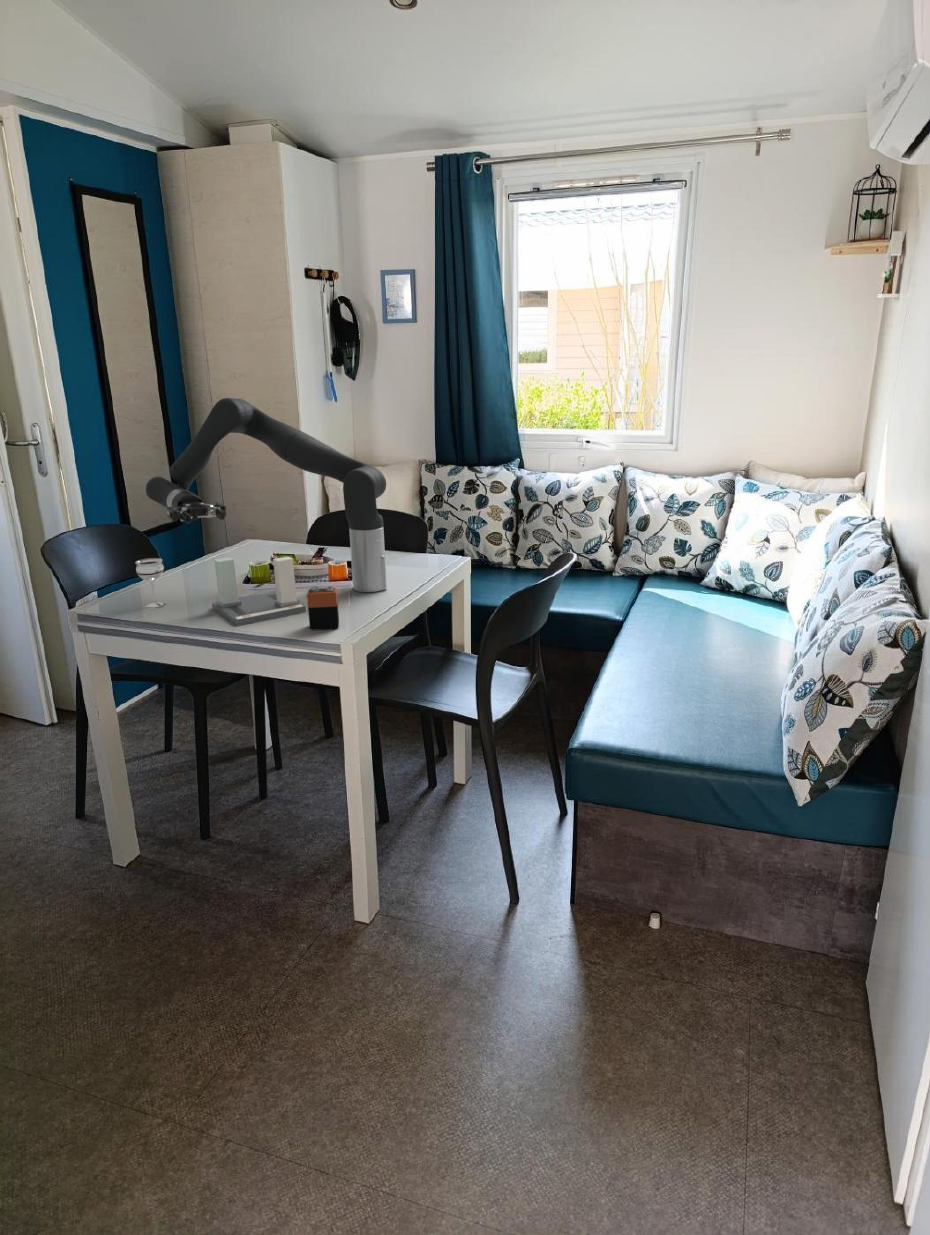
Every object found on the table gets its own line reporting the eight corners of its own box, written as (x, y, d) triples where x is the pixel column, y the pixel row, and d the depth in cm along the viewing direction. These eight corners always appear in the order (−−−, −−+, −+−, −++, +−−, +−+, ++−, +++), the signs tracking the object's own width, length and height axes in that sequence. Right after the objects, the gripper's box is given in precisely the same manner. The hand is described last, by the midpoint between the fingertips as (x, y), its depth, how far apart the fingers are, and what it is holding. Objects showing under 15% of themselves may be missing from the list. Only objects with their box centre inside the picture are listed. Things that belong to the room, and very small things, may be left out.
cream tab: (274, 603, 210) (270, 558, 206) (293, 600, 212) (289, 555, 209) (281, 607, 206) (276, 562, 203) (299, 603, 209) (295, 558, 205)
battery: (310, 624, 198) (307, 585, 195) (339, 623, 199) (336, 583, 196) (309, 630, 194) (306, 590, 191) (338, 629, 195) (335, 588, 191)
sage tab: (216, 604, 210) (211, 559, 206) (235, 600, 213) (230, 556, 209) (222, 607, 207) (216, 562, 203) (241, 604, 210) (236, 559, 206)
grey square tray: (212, 608, 212) (211, 602, 212) (277, 595, 222) (277, 590, 221) (237, 625, 198) (236, 619, 198) (305, 611, 208) (305, 605, 207)
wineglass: (174, 603, 217) (168, 559, 213) (153, 610, 211) (146, 565, 207) (157, 600, 220) (150, 556, 216) (135, 607, 214) (129, 562, 211)
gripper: (157, 493, 217) (177, 506, 205) (209, 488, 225) (232, 500, 213) (159, 521, 220) (179, 535, 208) (211, 515, 228) (234, 528, 216)
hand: (206, 517), depth 210 cm, fingers open, 8 cm apart
